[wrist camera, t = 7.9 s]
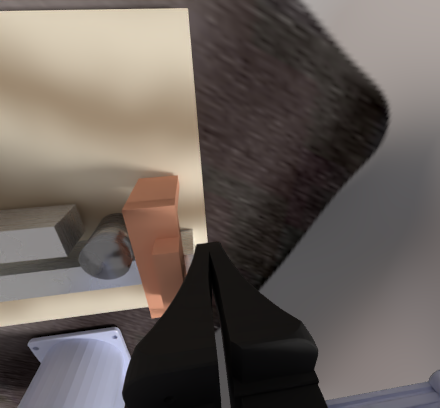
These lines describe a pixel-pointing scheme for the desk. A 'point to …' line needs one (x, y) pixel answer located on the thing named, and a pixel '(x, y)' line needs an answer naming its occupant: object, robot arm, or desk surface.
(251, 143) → the desk surface
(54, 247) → the bar
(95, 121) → the board
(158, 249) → the collar
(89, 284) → the tong base
